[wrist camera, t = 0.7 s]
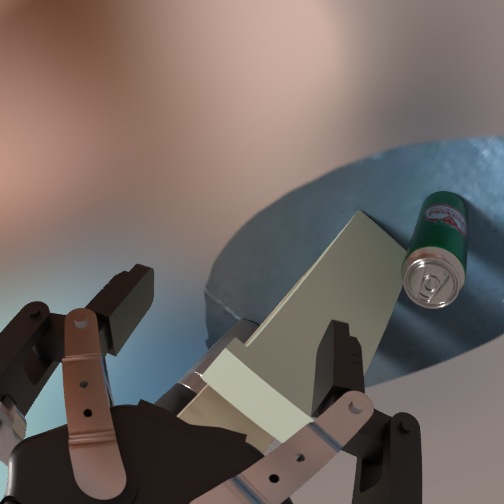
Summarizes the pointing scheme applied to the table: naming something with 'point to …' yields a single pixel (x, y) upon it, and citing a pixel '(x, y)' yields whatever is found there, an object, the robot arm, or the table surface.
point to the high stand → (227, 409)
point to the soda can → (437, 252)
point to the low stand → (312, 328)
